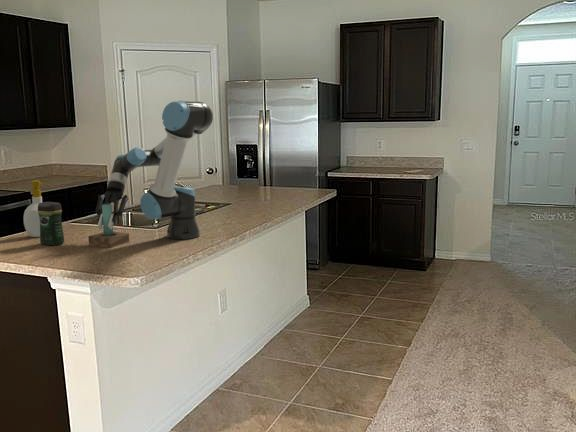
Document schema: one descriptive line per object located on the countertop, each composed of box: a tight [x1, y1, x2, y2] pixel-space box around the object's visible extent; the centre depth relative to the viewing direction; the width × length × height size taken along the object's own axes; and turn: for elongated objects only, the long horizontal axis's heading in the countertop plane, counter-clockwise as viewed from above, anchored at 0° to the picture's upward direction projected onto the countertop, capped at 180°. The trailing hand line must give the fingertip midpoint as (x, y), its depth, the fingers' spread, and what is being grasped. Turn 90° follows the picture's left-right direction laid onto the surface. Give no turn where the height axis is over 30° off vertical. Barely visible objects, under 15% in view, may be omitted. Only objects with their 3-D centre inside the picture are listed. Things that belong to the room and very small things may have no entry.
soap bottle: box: [23, 180, 43, 238], centre depth 261 cm, size 14×9×26 cm, turn 146°
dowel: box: [102, 204, 114, 236], centre depth 245 cm, size 4×4×14 cm
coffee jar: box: [38, 201, 65, 246], centre depth 246 cm, size 10×8×19 cm
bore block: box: [87, 231, 130, 249], centre depth 247 cm, size 12×12×4 cm
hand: (104, 227), depth 242 cm, fingers closed on dowel, 4 cm apart
